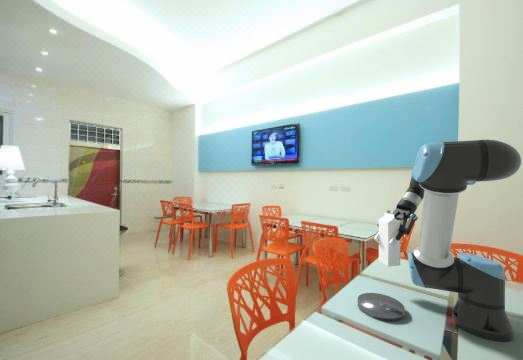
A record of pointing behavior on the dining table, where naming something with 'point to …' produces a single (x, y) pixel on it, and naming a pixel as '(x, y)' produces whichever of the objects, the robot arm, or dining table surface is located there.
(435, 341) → the dining table surface
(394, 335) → the dining table surface
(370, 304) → the dark grey plate
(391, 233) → the milk
